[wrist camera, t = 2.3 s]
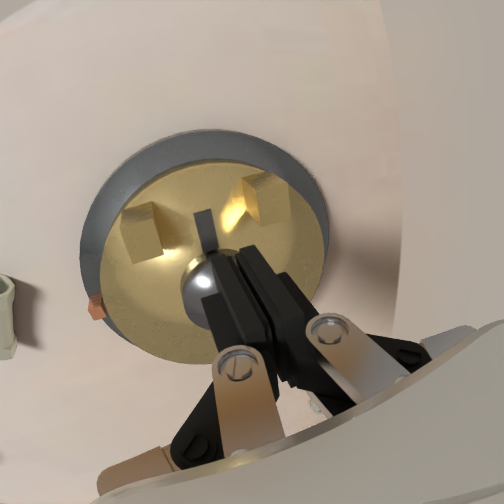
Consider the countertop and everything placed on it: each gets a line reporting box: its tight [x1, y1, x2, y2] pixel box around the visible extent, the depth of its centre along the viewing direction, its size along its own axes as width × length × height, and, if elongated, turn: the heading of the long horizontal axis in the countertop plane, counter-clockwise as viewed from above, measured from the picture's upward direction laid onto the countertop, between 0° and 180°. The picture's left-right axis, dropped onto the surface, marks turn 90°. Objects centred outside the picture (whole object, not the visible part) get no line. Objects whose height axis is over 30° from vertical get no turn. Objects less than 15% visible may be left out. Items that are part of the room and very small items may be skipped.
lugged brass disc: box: [100, 158, 324, 364], centre depth 23 cm, size 18×18×6 cm
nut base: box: [79, 129, 329, 347], centre depth 25 cm, size 22×22×3 cm
